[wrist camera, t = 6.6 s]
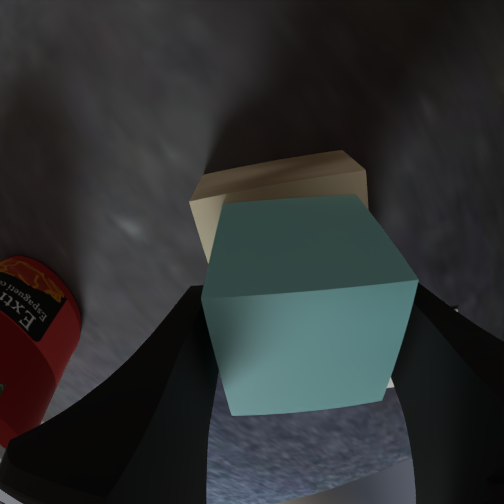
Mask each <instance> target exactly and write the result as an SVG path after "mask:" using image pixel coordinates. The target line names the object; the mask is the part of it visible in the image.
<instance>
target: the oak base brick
mask: <svg viewBox="0 0 504 504" xmlns="http://www.w3.org/2000/svg"><path fill="white" fill-rule="evenodd" d="M354 194H356V195H357V196H358V198H359V199H360V200H361V201H362V203H363V204H364V205H365V206H366V208H367V209H368V193H367V178H366V170H365V169H364V168H363V167H362V166H360V165H359V164H358V163H357V162H356V161H355V160H353V159H352V158H351V157H350V156H349V155H348V154H346V153H345V152H344V151H343V150H338V151H331V152H324V153H317V154H311V155H304V156H298V157H292V158H286V159H280V160H275V161H269V162H264V163H258V164H253V165H248V166H243V167H238V168H233V169H228V170H223V171H218V172H214V173H209V174H205V175H203V176H202V178H201V180H200V182H199V184H198V186H197V188H196V189H195V191H194V193H193V195H192V197H191V199H190V201H189V203H190V206H191V210H192V213H193V216H194V219H195V223H196V226H197V229H198V233H199V236H200V239H201V242H202V245H203V249H204V252H205V255H206V258H207V261H208V264H209V260H210V255H211V251H212V246H213V242H214V238H215V234H216V229H217V225H218V221H219V217H220V213H221V208H222V204H225V203H236V202H248V201H260V200H272V199H286V198H300V197H316V196H334V195H354Z"/></svg>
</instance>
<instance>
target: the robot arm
mask: <svg viewBox="0 0 504 504" xmlns="http://www.w3.org/2000/svg"><path fill="white" fill-rule="evenodd" d="M203 287H204V285H200V286H191V287H190V288H189V289H188V290H187V291H186V292H185V294H184V295H183V296H182V297H181V299H180V300H179V301H178V303H177V304H176V305H175V306H174V308H173V309H172V310H171V311H170V313H169V314H168V315H167V316H166V318H165V319H164V320H163V321H162V322H161V324H160V325H159V326H158V327H157V328H156V330H155V331H154V332H153V333H152V334H151V336H150V337H149V338H148V339H147V340H146V341H145V342H144V343H143V344H142V345H141V346H140V348H139V349H138V350H137V351H136V352H135V353H134V354H133V355H132V356H131V357H130V358H129V359H128V360H127V361H126V362H125V363H124V364H123V365H122V366H121V367H120V368H119V369H118V370H116V371H115V372H114V373H113V374H112V375H111V376H110V377H109V378H107V379H106V380H105V381H104V382H103V383H101V384H100V385H99V386H97V387H96V388H95V389H94V390H92V391H91V392H90V393H88V394H87V395H86V396H84V397H83V398H82V399H81V400H79V401H78V402H76V403H75V404H73V405H72V406H70V407H69V408H67V409H66V410H64V411H63V412H61V413H60V414H58V415H56V416H55V417H53V418H51V419H50V420H48V421H46V422H45V423H43V424H41V425H39V426H37V427H35V428H33V429H31V430H29V431H27V432H25V433H23V434H21V435H19V436H17V437H15V438H13V439H10V441H9V443H8V445H7V448H6V450H5V453H4V455H3V458H2V460H1V463H0V489H1V490H2V491H4V492H5V493H7V494H8V495H10V496H12V497H13V498H15V499H16V500H18V501H19V502H21V503H23V504H206V477H207V449H208V434H209V425H210V419H211V413H212V407H213V401H214V396H215V390H216V384H217V378H218V372H219V368H218V365H217V361H216V357H215V353H214V350H213V346H212V342H211V338H210V334H209V330H208V326H207V322H206V318H205V314H204V310H203V306H202V301H201V296H202V291H203ZM391 379H392V382H393V384H394V387H395V390H396V393H397V395H398V398H399V401H400V404H401V406H402V410H403V413H404V417H405V421H406V425H407V430H408V435H409V440H410V446H411V453H412V459H413V466H414V476H415V486H416V504H504V342H503V341H502V340H500V339H498V338H497V337H495V336H493V335H492V334H490V333H488V332H486V331H485V330H483V329H482V328H480V327H479V326H477V325H476V324H474V323H473V322H471V321H470V320H468V319H467V318H465V317H464V316H463V315H461V314H460V313H458V312H457V311H456V310H454V309H453V308H451V307H450V306H449V305H447V304H446V303H445V302H443V301H442V300H441V299H439V298H438V297H437V296H435V295H434V294H433V293H431V292H430V291H429V290H427V289H426V288H425V287H423V286H422V285H421V284H419V283H418V285H417V289H416V293H415V297H414V301H413V305H412V309H411V313H410V317H409V320H408V324H407V327H406V331H405V334H404V337H403V341H402V344H401V347H400V350H399V354H398V357H397V360H396V363H395V366H394V369H393V371H392V374H391ZM0 504H5V503H3V502H1V501H0Z"/></svg>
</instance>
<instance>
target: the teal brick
mask: <svg viewBox="0 0 504 504" xmlns="http://www.w3.org/2000/svg"><path fill="white" fill-rule="evenodd" d="M418 281H419V279H418V278H417V276H416V275H415V273H414V272H413V271H412V269H411V268H410V266H409V265H408V263H407V262H406V260H405V259H404V257H403V256H402V255H401V253H400V252H399V250H398V249H397V248H396V246H395V245H394V243H393V242H392V241H391V239H390V238H389V237H388V235H387V234H386V233H385V231H384V230H383V229H382V227H381V226H380V225H379V223H378V222H377V221H376V219H375V218H374V217H373V215H372V214H371V213H370V211H369V210H368V209H367V208H366V206H365V205H364V204H363V203H362V201H361V200H360V199H359V198H358V196H357V195H356V194H354V195H334V196H316V197H300V198H286V199H272V200H260V201H248V202H236V203H225V204H222V208H221V213H220V217H219V221H218V225H217V229H216V234H215V238H214V242H213V246H212V251H211V255H210V260H209V264H208V268H207V273H206V277H205V282H204V287H203V291H202V296H201V301H202V306H203V310H204V314H205V318H206V322H207V326H208V330H209V334H210V338H211V342H212V346H213V350H214V353H215V357H216V361H217V365H218V368H219V372H220V376H221V379H222V383H223V387H224V390H225V394H226V397H227V401H228V404H229V408H230V411H231V415H232V416H241V415H266V414H282V413H294V412H305V411H315V410H323V409H331V408H339V407H346V406H353V405H359V404H365V403H371V402H376V401H382V399H383V396H384V394H385V391H386V388H387V385H388V383H389V380H390V377H391V374H392V371H393V369H394V366H395V363H396V360H397V357H398V354H399V350H400V347H401V344H402V341H403V337H404V334H405V331H406V327H407V324H408V320H409V317H410V313H411V309H412V305H413V301H414V297H415V293H416V289H417V285H418Z"/></svg>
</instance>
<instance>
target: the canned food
mask: <svg viewBox="0 0 504 504" xmlns="http://www.w3.org/2000/svg"><path fill="white" fill-rule="evenodd" d="M80 333H81V315H80V311H79V308H78V306H77V303H76V301H75V299H74V297H73V295H72V294H71V292H70V291H69V289H68V288H67V287H66V285H65V284H64V283H63V282H62V281H61V279H60V278H59V277H58V276H57V275H56V274H55V273H53V272H52V271H51V270H50V269H49V268H48V267H46V266H45V265H43V264H42V263H40V262H38V261H36V260H34V259H32V258H28V257H25V256H13V257H10V258H7V259H5V260H2V261H0V463H1V460H2V458H3V455H4V453H5V450H6V448H7V445H8V443H9V441H10V439H13V438H15V437H17V436H19V435H21V434H23V433H25V432H27V431H29V430H31V429H33V428H35V427H37V426H39V425H40V424H41V421H42V419H43V417H44V414H45V412H46V410H47V407H48V405H49V403H50V401H51V398H52V396H53V394H54V392H55V390H56V388H57V385H58V383H59V381H60V379H61V377H62V375H63V373H64V371H65V369H66V367H67V365H68V363H69V361H70V359H71V357H72V355H73V353H74V351H75V349H76V347H77V345H78V342H79V339H80Z"/></svg>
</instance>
